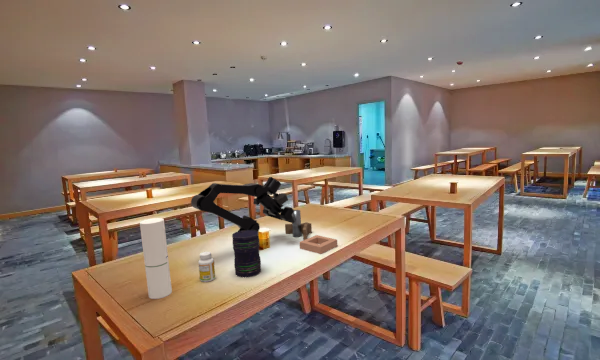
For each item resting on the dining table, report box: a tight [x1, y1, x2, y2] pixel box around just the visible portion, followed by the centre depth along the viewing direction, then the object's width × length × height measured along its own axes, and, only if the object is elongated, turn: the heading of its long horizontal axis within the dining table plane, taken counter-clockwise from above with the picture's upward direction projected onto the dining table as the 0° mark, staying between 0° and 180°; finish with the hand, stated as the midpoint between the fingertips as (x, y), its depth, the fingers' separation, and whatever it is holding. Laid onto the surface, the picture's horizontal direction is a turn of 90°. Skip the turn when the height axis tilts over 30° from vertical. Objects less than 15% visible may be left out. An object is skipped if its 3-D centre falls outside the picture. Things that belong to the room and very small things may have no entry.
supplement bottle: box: [197, 251, 216, 283], centre depth 115 cm, size 5×5×10 cm
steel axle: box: [291, 209, 303, 238], centre depth 160 cm, size 4×4×13 cm
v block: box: [284, 221, 313, 241], centre depth 163 cm, size 10×16×5 cm, turn 40°
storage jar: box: [231, 230, 262, 278], centre depth 119 cm, size 10×10×15 cm
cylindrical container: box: [139, 217, 173, 300], centre depth 105 cm, size 7×7×25 cm
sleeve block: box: [299, 234, 338, 255], centre depth 143 cm, size 12×12×3 cm
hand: (288, 220), depth 157 cm, fingers open, 9 cm apart
